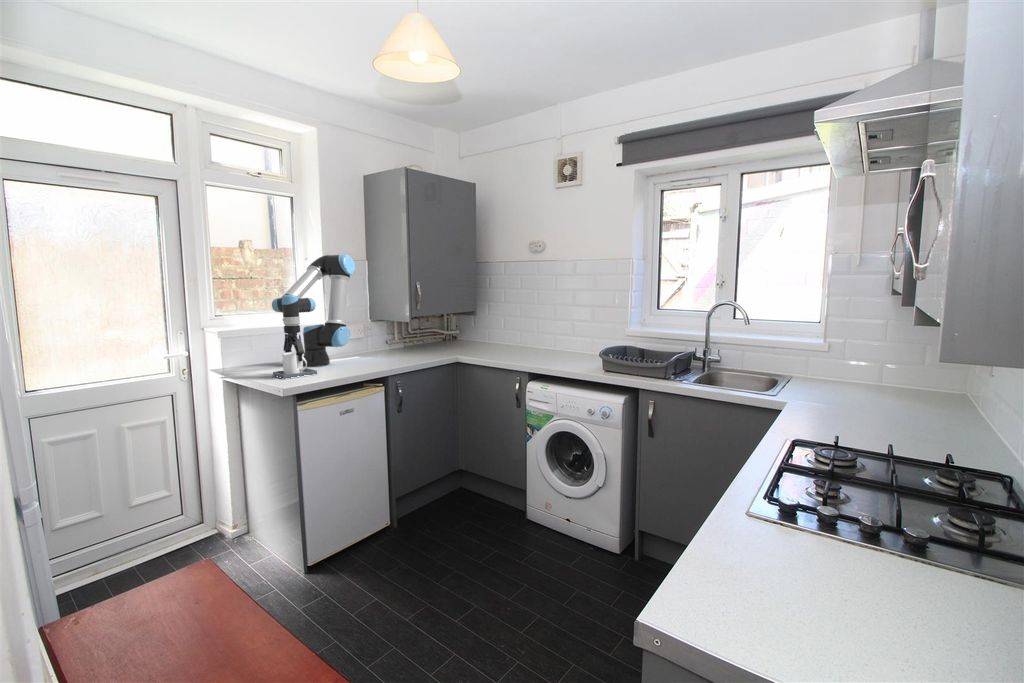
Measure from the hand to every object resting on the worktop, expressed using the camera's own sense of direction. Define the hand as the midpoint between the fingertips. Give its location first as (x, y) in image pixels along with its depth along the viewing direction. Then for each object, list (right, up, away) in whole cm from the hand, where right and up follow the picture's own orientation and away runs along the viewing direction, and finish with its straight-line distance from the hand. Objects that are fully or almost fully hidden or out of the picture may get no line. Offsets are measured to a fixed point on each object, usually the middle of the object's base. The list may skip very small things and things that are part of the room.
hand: (294, 366), depth 247 cm
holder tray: (0, -5, +1) cm, 5 cm away
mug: (+1, -4, 0) cm, 4 cm away
